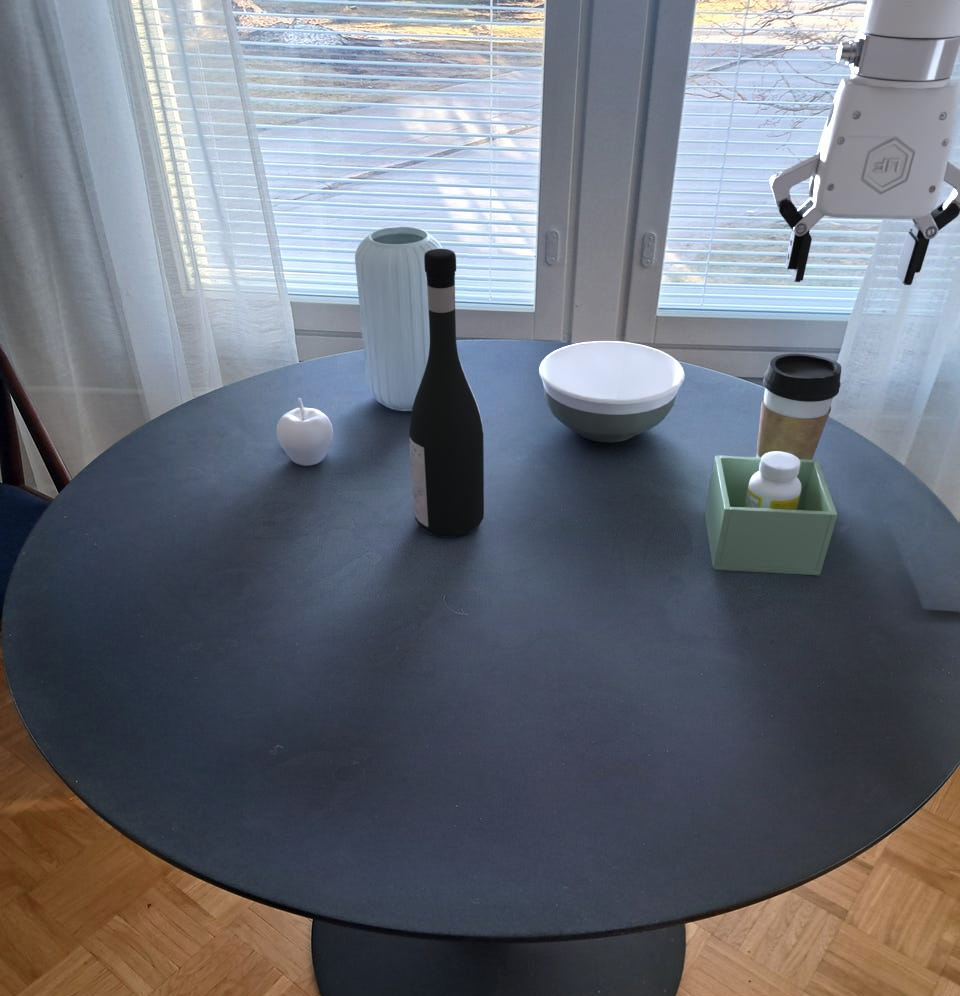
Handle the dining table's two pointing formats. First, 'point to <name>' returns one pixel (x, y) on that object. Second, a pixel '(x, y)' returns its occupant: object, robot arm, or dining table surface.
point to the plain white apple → (305, 435)
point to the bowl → (610, 388)
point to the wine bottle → (445, 420)
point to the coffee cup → (796, 403)
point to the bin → (767, 522)
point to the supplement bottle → (775, 482)
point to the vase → (394, 312)
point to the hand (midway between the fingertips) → (849, 278)
